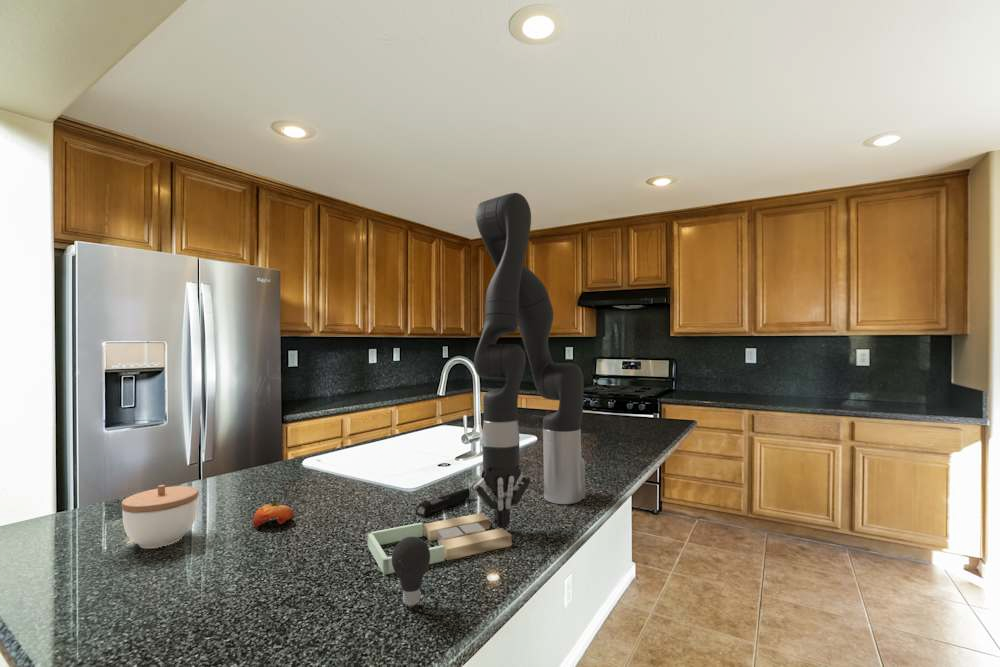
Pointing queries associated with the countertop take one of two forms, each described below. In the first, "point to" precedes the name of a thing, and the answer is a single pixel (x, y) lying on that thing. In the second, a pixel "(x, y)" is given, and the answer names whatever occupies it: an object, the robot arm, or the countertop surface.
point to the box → (393, 536)
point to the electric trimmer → (442, 502)
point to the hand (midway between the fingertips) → (502, 526)
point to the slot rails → (468, 536)
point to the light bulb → (411, 567)
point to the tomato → (272, 514)
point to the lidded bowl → (160, 515)
